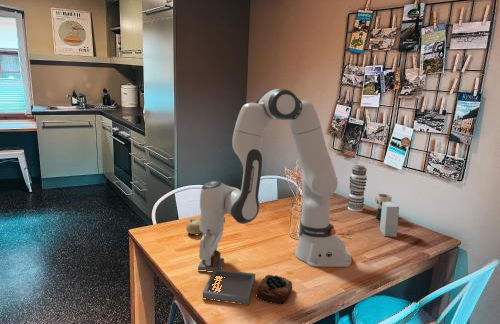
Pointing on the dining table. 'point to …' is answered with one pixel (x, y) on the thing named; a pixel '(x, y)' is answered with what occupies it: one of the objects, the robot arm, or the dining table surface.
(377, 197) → the character mug
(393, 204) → the skincare box
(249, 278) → the tray
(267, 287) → the pastry
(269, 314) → the dining table surface
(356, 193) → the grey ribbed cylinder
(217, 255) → the ring
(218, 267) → the grey peg stand
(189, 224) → the onion
